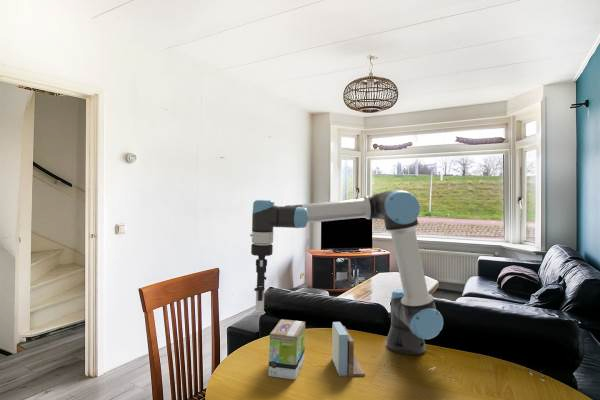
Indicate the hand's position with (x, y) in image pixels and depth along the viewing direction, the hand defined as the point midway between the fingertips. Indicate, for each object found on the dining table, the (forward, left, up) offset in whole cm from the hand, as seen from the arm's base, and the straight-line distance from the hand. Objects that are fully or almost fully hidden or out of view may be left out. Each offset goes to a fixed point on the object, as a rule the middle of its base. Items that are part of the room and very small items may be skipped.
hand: (260, 303), depth 121 cm
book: (-29, +1, -23) cm, 37 cm away
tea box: (-10, 0, -23) cm, 25 cm away
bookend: (-33, +1, -23) cm, 40 cm away
